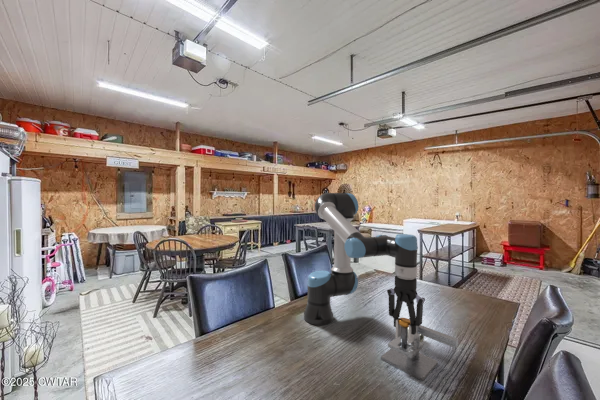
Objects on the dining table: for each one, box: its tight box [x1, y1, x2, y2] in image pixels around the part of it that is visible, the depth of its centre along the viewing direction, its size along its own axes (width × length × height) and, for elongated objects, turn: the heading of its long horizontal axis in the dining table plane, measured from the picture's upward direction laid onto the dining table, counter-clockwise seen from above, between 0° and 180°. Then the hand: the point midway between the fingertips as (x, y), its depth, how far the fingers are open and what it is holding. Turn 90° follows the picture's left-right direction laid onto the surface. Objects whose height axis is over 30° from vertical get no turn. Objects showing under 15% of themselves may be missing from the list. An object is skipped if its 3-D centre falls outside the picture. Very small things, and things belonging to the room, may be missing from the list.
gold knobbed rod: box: [399, 317, 411, 350], centre depth 96 cm, size 4×4×10 cm
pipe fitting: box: [408, 327, 425, 343], centre depth 116 cm, size 8×4×7 cm
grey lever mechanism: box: [380, 317, 459, 382], centre depth 96 cm, size 23×15×15 cm, turn 42°
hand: (404, 339), depth 96 cm, fingers closed on gold knobbed rod, 4 cm apart
